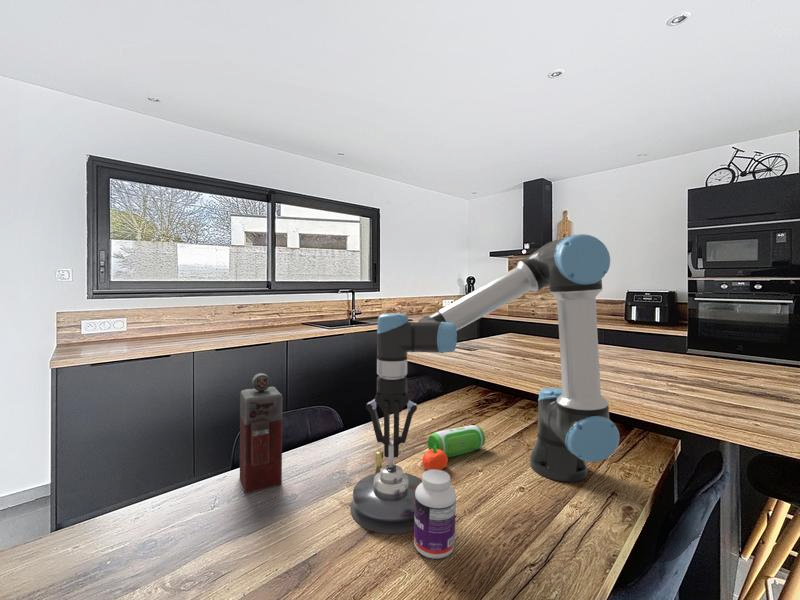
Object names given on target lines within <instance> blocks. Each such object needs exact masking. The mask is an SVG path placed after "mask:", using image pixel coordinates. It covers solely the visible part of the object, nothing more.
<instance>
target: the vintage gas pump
mask: <svg viewBox="0 0 800 600" xmlns="http://www.w3.org/2000/svg"><path fill="white" fill-rule="evenodd" d="M251 385H252V387H253V388H247V389H242V390H241V391H240V393H239V480H240V483H241V486H242V489H243V493H244V494H248V493H253V492H256V491H260V490H264V489H269V488H273V487H278V486H281V485H282V484H283V481H282V479H283V477H282V476H283V400H284V399H283V395H282V393H280V391H278V389H277V388H276V387H275V386H270V385H271V379H270V377H269V376H268V375H267V374H266V373H264V372H263V373H261V372H259V373H257V374H254V376H253V377H252V378H251Z"/></svg>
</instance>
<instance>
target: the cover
mask: <svg viewBox="0 0 800 600" xmlns="http://www.w3.org/2000/svg"><path fill="white" fill-rule="evenodd" d="M403 471H404V470H403V468H402V467H401V466H400V465H397V464H394V465H389V464H387V465H386V464H385V465H383V467H382V468H381V469H380V472H379V473H378V474H376V475H375V477H374V494H375V496H376V497H377V498H379V499H381V500H385V501H398V500H401V499H403V498H405V497H406V496H407V495H408V482H409V479H408V476H407V475H406V474H405V473H406V472H403Z"/></svg>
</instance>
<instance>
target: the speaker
mask: <svg viewBox="0 0 800 600" xmlns="http://www.w3.org/2000/svg"><path fill="white" fill-rule="evenodd" d="M427 438H428V439H427V449H428V451H429V450H431V449H433V447H434V446H435V447H436V449H439V450H442V451H444V453H445V454H446V456H447V458H452V457H457V456H460V455H464V453H465V454H469V453H471V452H473V451H477V450H479V449H480V448H482V447H483V446H484V445H485V444H486V443H485V442H486V436H485V432H484V431H483V429H482V427H480V426H478V425H473V424H472V425H465V426H461V427H460V426H459V427H456V428H450V429H444V430H439V431H435V432H433V433H432V434H430V435H429V436H428V437H427ZM468 452H469V453H468Z"/></svg>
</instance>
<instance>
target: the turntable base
mask: <svg viewBox="0 0 800 600" xmlns="http://www.w3.org/2000/svg"><path fill="white" fill-rule="evenodd" d="M350 515H351V516H352V519H353V520H354V521H355V523H356V524H358V525H359V526H360V527H362V528H364V529H366V530H368V531H371V532H374V533H378V534H383V535H401V534H407V533H411V532H414V520H413V521H410V522H406V523H399V524H386V523H379V522H375V521H372V520H369V519H367V518H365V517H364V516H362V515H361V514H359V513H358V512H357V510H356V509H355V507H354V505H353V500H352V501H351V503H350Z"/></svg>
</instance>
